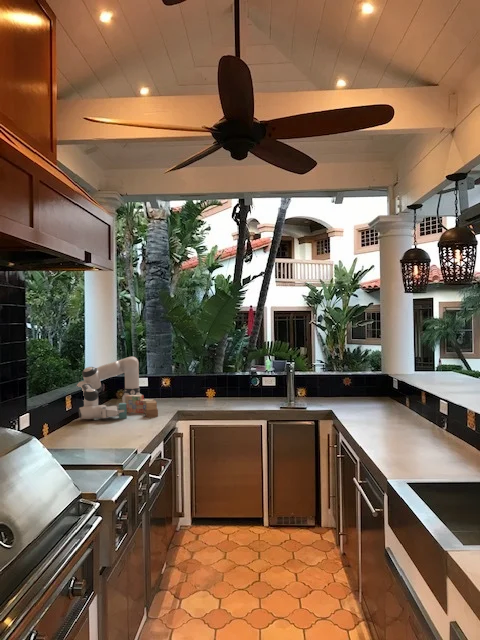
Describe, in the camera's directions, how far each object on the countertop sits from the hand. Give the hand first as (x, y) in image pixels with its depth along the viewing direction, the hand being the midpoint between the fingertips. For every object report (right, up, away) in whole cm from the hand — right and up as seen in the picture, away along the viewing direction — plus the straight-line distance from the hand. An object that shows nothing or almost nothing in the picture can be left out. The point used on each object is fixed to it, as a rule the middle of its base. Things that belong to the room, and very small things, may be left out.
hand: (124, 409), depth 336 cm
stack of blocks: (+7, -6, +21) cm, 23 cm away
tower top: (+18, 0, +6) cm, 19 cm away
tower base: (+18, -5, +5) cm, 20 cm away
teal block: (-1, -6, 0) cm, 6 cm away
